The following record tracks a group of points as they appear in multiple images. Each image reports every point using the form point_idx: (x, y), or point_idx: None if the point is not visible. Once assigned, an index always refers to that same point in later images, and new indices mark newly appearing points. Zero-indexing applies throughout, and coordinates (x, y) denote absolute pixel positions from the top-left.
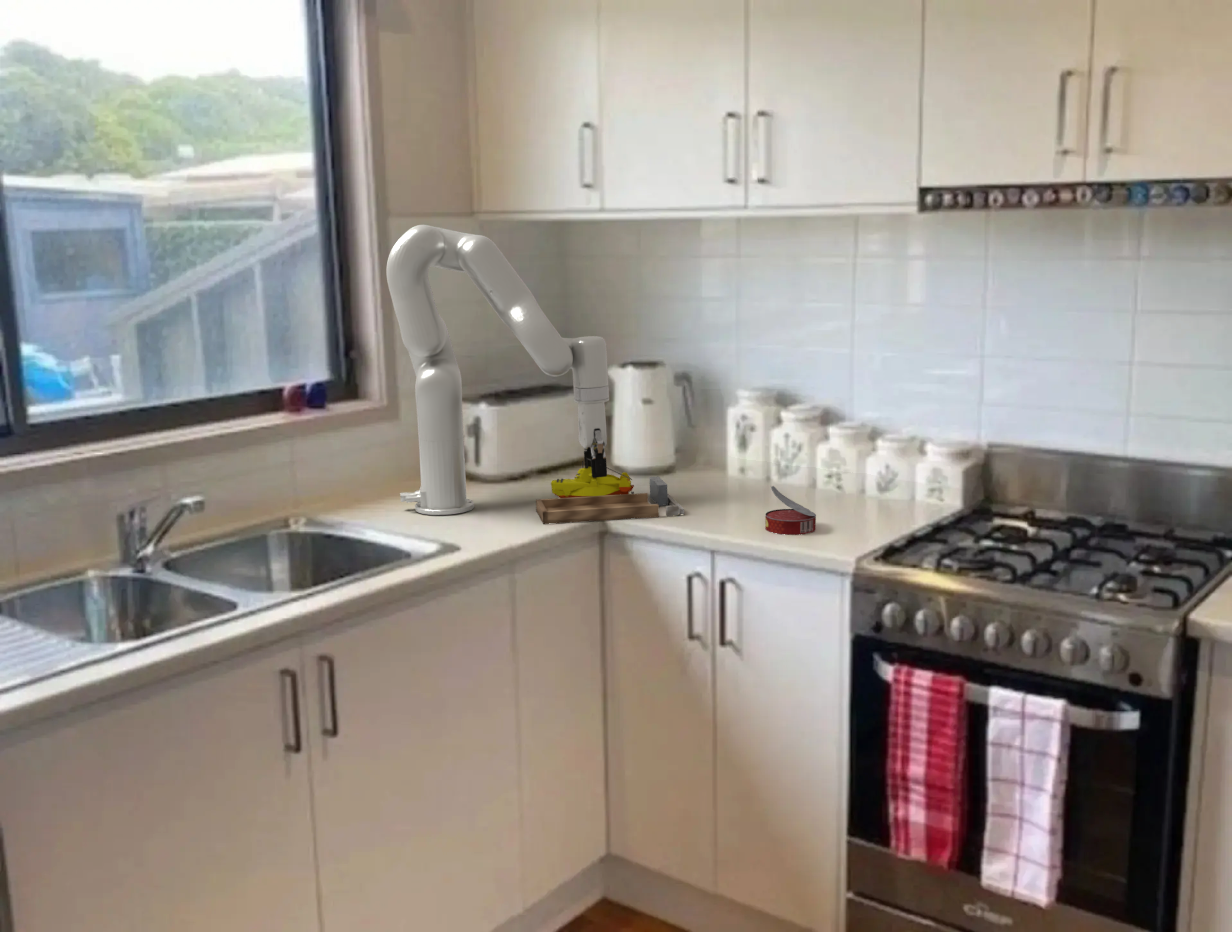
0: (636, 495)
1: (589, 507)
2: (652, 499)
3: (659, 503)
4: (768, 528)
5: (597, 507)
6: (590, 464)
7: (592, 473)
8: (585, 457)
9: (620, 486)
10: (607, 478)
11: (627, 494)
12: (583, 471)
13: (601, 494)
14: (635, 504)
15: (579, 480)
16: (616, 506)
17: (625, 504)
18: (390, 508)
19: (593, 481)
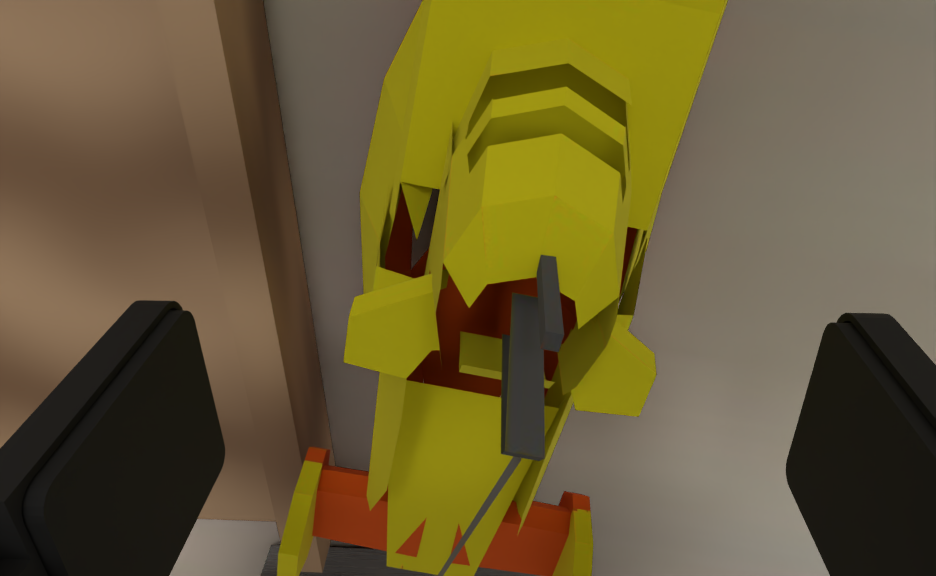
0: (275, 504)
1: (113, 90)
2: None
3: (268, 561)
4: None
5: (117, 165)
6: (833, 416)
7: (115, 330)
8: (920, 444)
9: (303, 473)
10: (388, 441)
11: (284, 460)
12: (444, 238)
13: (364, 276)
14: None
15: (466, 117)
16: None
17: (224, 388)
18: None
19: (375, 283)
